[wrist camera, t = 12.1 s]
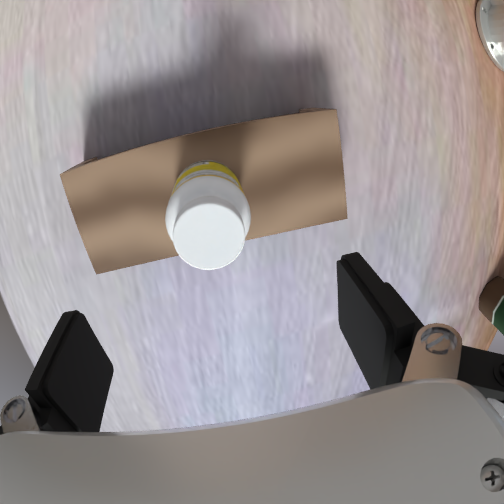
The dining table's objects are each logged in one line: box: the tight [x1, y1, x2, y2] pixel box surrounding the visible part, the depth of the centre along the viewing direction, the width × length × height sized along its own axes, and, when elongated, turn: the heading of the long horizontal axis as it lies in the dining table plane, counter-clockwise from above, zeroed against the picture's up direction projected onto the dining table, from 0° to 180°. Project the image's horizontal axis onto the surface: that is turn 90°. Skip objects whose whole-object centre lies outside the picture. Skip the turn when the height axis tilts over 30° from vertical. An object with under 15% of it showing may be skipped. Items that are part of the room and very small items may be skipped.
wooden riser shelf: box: [60, 108, 347, 274], centre depth 29 cm, size 10×24×6 cm, turn 100°
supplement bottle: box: [165, 160, 251, 270], centre depth 22 cm, size 5×5×10 cm
